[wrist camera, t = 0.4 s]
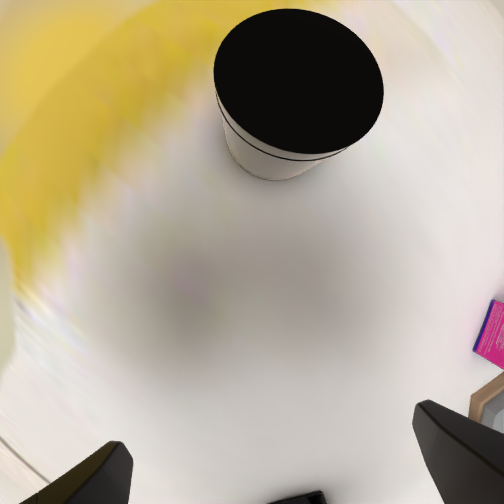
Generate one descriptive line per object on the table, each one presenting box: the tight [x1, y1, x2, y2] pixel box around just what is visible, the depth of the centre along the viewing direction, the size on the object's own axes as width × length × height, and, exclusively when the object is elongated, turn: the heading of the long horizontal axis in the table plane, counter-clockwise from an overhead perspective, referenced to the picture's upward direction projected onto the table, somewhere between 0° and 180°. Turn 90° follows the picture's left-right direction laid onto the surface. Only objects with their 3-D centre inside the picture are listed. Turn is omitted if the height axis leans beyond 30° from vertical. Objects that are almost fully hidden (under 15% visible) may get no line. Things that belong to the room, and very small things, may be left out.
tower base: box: [468, 372, 504, 423], centre depth 24 cm, size 9×9×2 cm
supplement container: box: [214, 9, 384, 180], centre depth 15 cm, size 7×7×10 cm
